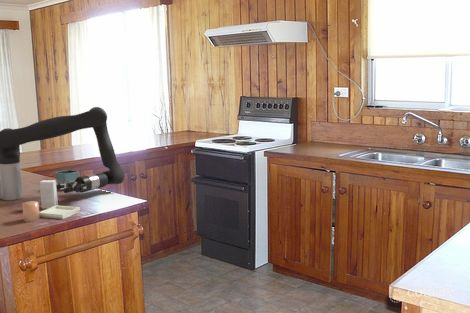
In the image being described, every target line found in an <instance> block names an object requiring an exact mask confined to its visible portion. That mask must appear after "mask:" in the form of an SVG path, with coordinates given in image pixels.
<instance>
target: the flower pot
mask: <svg viewBox="0 0 470 313" xmlns="http://www.w3.org/2000/svg"><path fill="white" fill-rule="evenodd" d="M54 175H55V180H56V184H58V183H61V182H66V181H69V182H71V181H74V182H75V180H76V178H77V177H80V172H79V171H78V170H73V169H67V170H60V171H59V170H58V171H54ZM66 188H68V187H66Z"/></svg>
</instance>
